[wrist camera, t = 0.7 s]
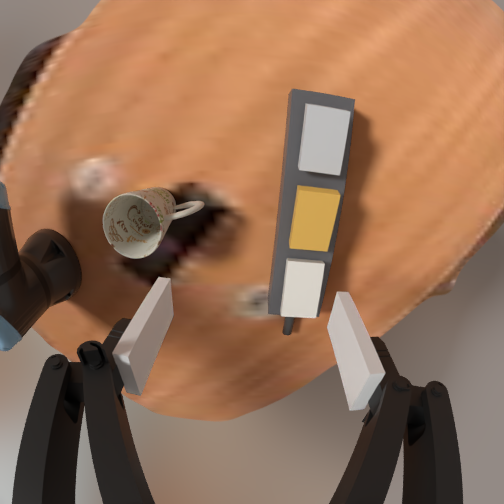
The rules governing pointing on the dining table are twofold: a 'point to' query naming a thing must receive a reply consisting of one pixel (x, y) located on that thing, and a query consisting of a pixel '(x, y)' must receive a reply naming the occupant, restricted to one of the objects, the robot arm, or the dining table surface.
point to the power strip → (289, 189)
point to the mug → (142, 220)
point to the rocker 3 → (301, 288)
